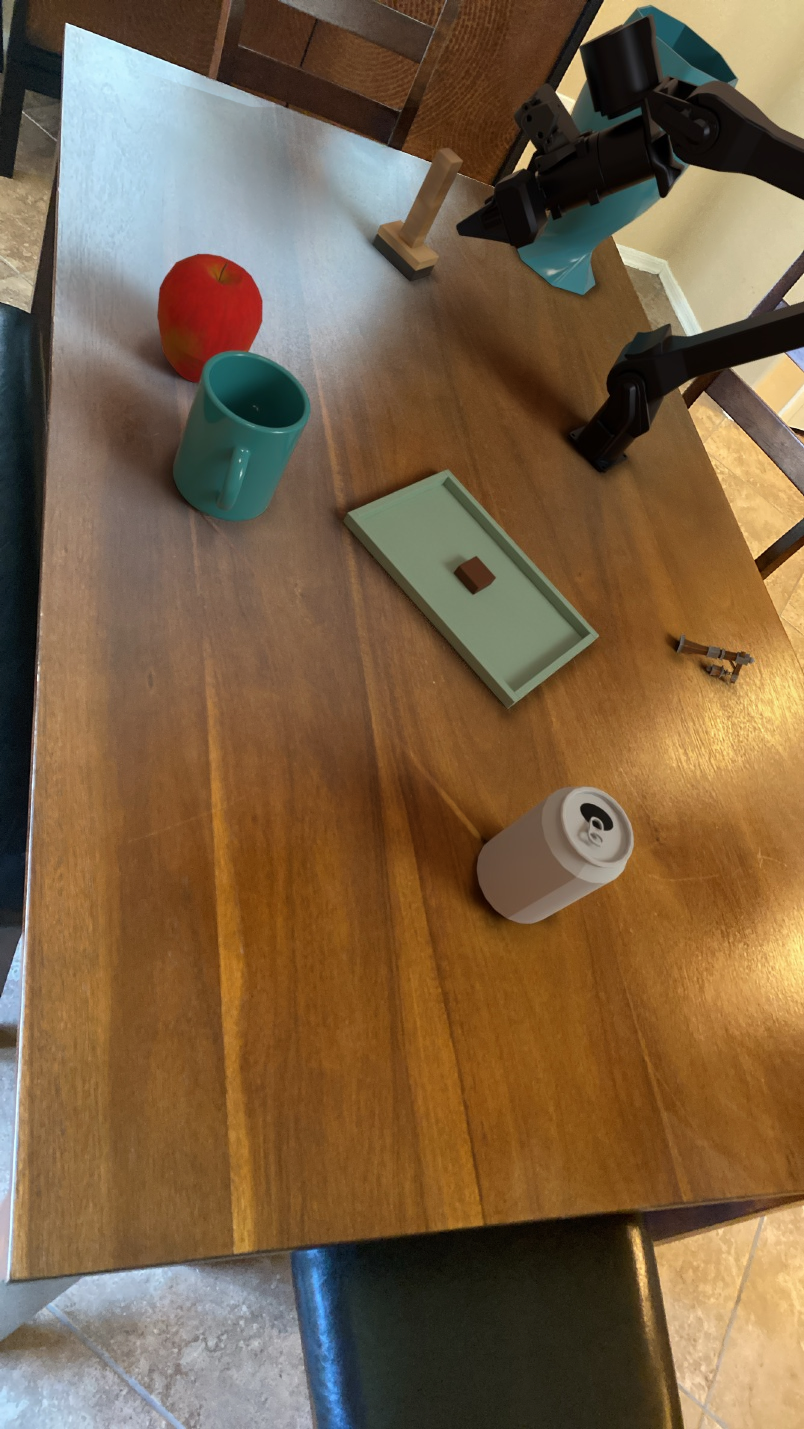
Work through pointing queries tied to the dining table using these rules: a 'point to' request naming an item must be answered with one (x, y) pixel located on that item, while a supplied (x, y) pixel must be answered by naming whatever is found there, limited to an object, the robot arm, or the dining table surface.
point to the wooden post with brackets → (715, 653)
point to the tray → (482, 627)
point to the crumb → (474, 575)
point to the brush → (419, 220)
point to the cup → (239, 435)
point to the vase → (584, 228)
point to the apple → (206, 312)
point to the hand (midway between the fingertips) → (472, 217)
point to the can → (555, 854)
